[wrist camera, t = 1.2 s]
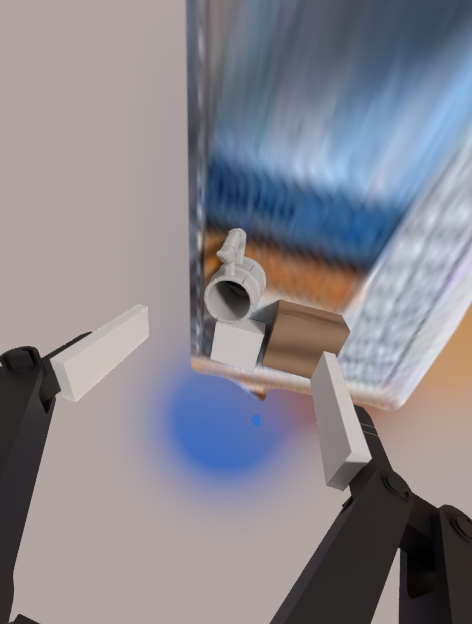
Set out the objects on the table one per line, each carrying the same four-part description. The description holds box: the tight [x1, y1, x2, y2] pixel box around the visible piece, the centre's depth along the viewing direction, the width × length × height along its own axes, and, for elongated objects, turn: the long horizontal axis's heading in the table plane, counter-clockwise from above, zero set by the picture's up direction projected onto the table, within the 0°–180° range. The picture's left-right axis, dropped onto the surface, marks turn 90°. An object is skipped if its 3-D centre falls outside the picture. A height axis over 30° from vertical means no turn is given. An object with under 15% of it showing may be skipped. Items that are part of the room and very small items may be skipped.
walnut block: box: [262, 300, 350, 379], centre depth 33 cm, size 10×10×5 cm
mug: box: [204, 228, 266, 324], centre depth 27 cm, size 8×12×12 cm, turn 179°
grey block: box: [211, 319, 266, 372], centre depth 36 cm, size 8×8×4 cm
